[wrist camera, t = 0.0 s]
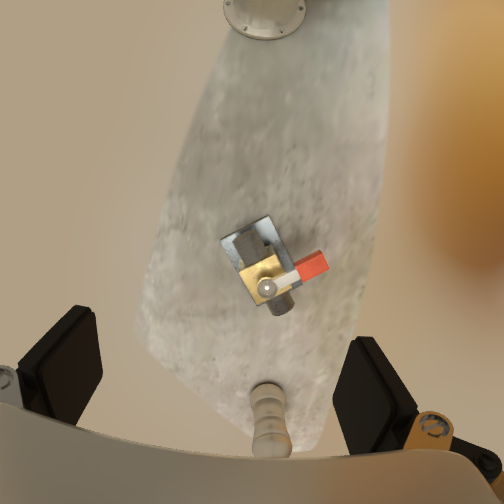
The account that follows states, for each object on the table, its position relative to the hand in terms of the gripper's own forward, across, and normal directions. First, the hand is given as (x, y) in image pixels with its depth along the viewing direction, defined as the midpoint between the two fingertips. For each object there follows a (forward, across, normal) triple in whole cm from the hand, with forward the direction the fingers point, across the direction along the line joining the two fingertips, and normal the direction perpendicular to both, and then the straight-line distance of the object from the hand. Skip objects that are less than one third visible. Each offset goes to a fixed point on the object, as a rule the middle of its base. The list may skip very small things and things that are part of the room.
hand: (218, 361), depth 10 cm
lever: (+27, -7, +6) cm, 29 cm away
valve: (+37, -5, +8) cm, 38 cm away
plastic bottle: (+38, -9, +34) cm, 51 cm away
